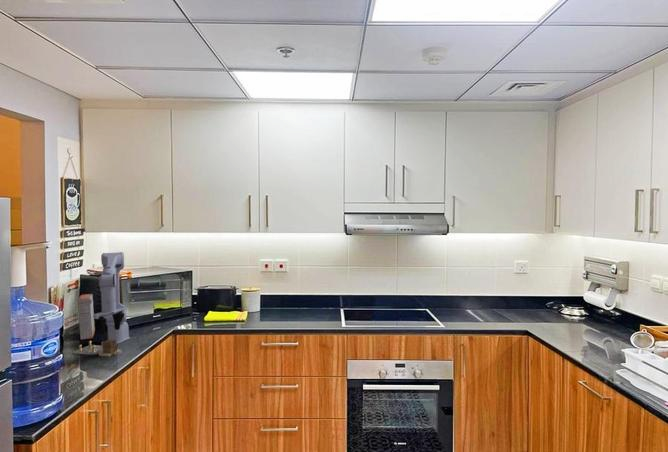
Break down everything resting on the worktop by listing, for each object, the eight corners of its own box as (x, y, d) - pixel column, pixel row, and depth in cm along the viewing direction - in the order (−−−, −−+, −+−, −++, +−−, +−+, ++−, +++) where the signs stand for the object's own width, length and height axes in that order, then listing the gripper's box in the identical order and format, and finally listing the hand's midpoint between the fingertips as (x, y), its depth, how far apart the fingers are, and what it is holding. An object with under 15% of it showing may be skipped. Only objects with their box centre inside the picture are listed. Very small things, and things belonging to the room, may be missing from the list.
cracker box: (82, 333, 239) (80, 294, 238) (95, 331, 241) (93, 293, 240) (79, 340, 226) (77, 299, 225) (92, 338, 228) (90, 297, 228)
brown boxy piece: (108, 350, 208) (107, 337, 208) (124, 351, 206) (124, 338, 206) (95, 356, 200) (94, 342, 200) (112, 357, 198) (111, 343, 198)
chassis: (90, 347, 214) (89, 339, 213) (109, 347, 211) (109, 340, 211) (73, 353, 204) (73, 346, 204) (94, 354, 201) (93, 347, 201)
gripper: (100, 304, 192) (102, 336, 192) (128, 298, 205) (129, 328, 206) (89, 304, 195) (90, 335, 195) (117, 298, 208) (118, 327, 208)
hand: (110, 331), depth 200 cm, fingers open, 7 cm apart
